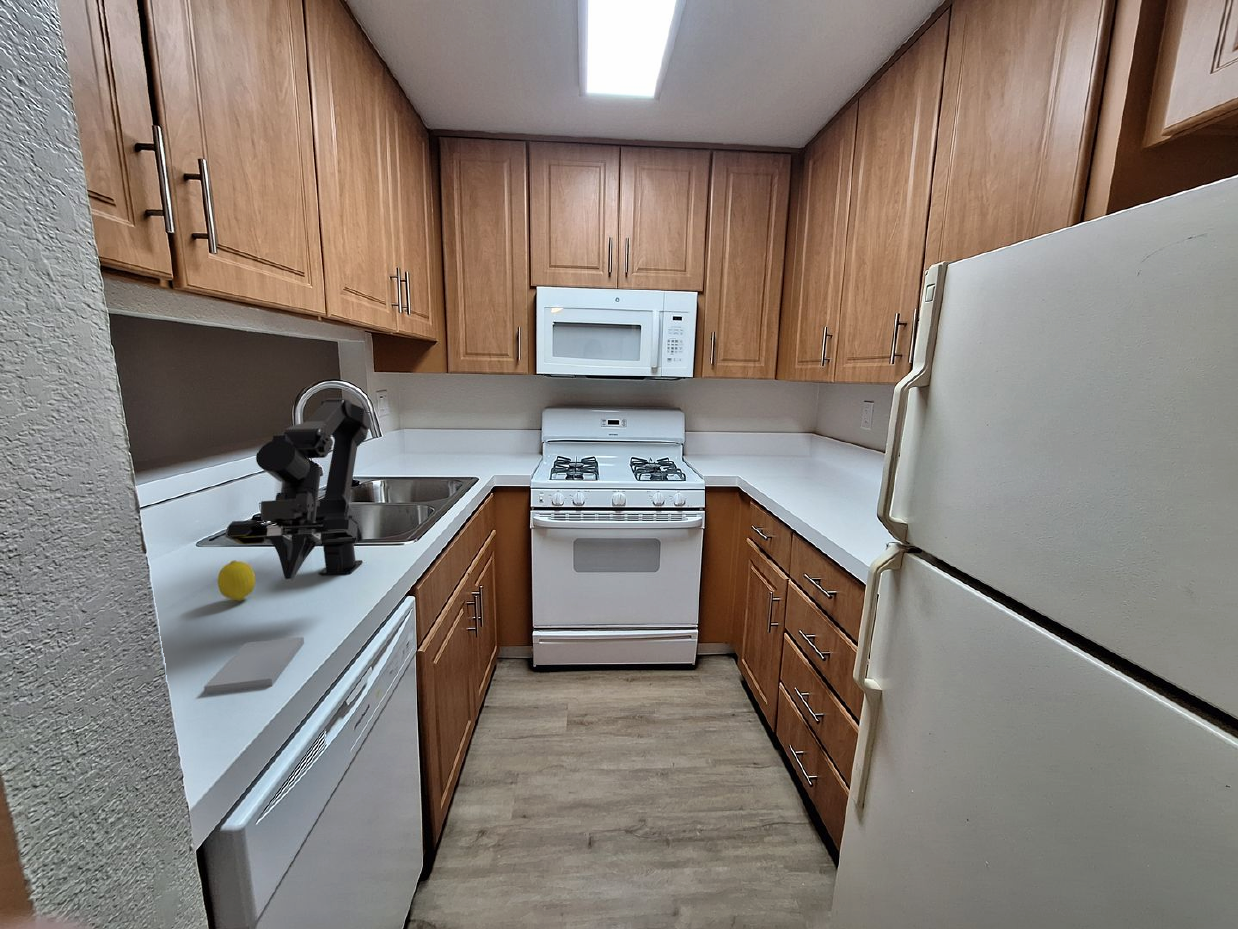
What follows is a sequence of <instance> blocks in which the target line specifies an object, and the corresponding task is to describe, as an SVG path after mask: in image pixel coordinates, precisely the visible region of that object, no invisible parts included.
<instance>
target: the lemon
mask: <svg viewBox="0 0 1238 929" xmlns="http://www.w3.org/2000/svg"><path fill="white" fill-rule="evenodd" d="M217 586H218V590H219V592H220V594H221V595H222V596H223V597H225V598H227V599H230V600H235V601H237V602H241V601H243V600H244V599H245V598H246V597H247V596H249V595H250V594H251V593H252V591H253V590H254V589H255V586H256V575H255V572H254V570H253V568H252V567H251V565H249V564H248V563H246V562H244V561H237V560H236V559H235V560H231V561H230V562H229V563H227V564H226V565H225V566H222V568H221V569H220V571H219V573H218V576H217Z"/></svg>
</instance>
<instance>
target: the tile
mask: <svg viewBox="0 0 1238 929" xmlns="http://www.w3.org/2000/svg"><path fill="white" fill-rule="evenodd" d="M304 639H305V638H304V636H299V637H289V638H279V639H270V640H262V641H261V640H259V641H252V642H251V641H250V642H245V644H244V645H242V647H241V648H239V650H238V651H237V652H236V653H235V654H234V655H233V656H232V657H231V658H230V659H229V660H228V661H227V662H226V663H225V664H224V665H223V666H222V667H221V668H220V670H218V671H217V672H216V674H215V675H214V676H212V678H210V680H209V681H208V682H207V683H206V684H205V685H204V686H203V689H204V693H210V694H216V693H215V692H219V693H225V692H226V691H227V692H233V691H239V690H241V691H242V690H250V689H257V688H258V687H259V688H266V687H273V686H274V684H275V683H276V681H278V679H279V678H280V676H281V675H282V674H283V672H284V671H285V670H286V668H287V667H288V666H289V664H290V663H291V662H292V661H293V659H294V658H295V656H297V654H298V652H299V651H300V650H301V648H303V645H305V640H304Z"/></svg>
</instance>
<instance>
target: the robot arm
mask: <svg viewBox="0 0 1238 929" xmlns="http://www.w3.org/2000/svg"><path fill="white" fill-rule="evenodd" d="M371 423H372V420H371V416H370V415H369V413H368V412H367V411H366V408H364V407H361V406H358V405H356V404H354V403H352V402H351V401H350V400H349V399H346V398H325V399H322V400H321V405H320V406H319V408H317V410H316V411H315V412H314V413H313V414H311V416H310V417H309V418H308V419H307V420H306V421H304V422H303V423H298V424H294V425H291V426H289V427H288V428H285V429H284V431H283V432H282V434H273V435H272V440H271V441H269V442H267V443H265V444H263V445H262V446H261V447H260V449H259V450H258V451H257V452H256V456H255V460H256V461H255V462H256V464H257V465H258V467H259V468H261V470H263V471H265V473H267V474H269V475H270V476H272V477H273V478H274V479H275V480H276V481H278V482H280V483H281V486H280V487H281V489H280V492H277V494H276V495H275V500H261V501H260V512H261V516H260V517H261V518H260V519H261V522H262V521H269V522H271V523H272V524H273V523H275V525H274V524H273V525H271V524H270V525H265V524H262V523H261V522H259V521H258V520H256V519H252V520H251V519H249V520H232V522H231V523H230V524H228V526H227V527H226V530H225V535H224V536H225V538H228V539H229V540H232V541H234V542H235V543H238V544H241V545H258V544H259V545H260V544H261V545H262V544H263V543H265V542H267V543H269V544H271V545H272V546H274V548H275V551H276V553H277V556H278V559H279V561H280V562H279V563H280V565H281V566H280V567H281V570H282V572H283V576H284V579H285V580H286V581H289V580H290V581H291V580H294V578H295V576H296V575H297V574H298V571H299V570H300V568H301V566H302V565H303V563H304V562H305V560H307V557H308V556H309V555H310V553H312V551H313V550H314V549H315V547H319V546H320V547H321V546H322V547H323V556H324V563H325V564H324V565H325V566H324V568H322V569H321V570H320V571H319V572H318V575H321V576H322V575H323V576H324V575H344V574H345V575H348V574H352V572H354V571H355V570H356V569H357V568H358V567H359V566H360V565H361V564H363V560H362V559H361V560H360V559H359V560H357V559H356V551H355V544H358V542H362V541H363V540H364V537H363V534H364V532H363V526H362V525H361V524H360V522H359V520H358V519H357V517H356V512H355V511H354V509H353V508H352V506H351V504H350V498H351V492H352V486H353V485H352V484H353V478H354V472H355V471H354V470H355V466H356V465H355V464H356V458H357V452H358V451H357V450H358V447H360V445H361V444H363V442H365V440H366V439H367V437H368V433H369V430H370V429H371V426H372V424H371ZM331 436H332V437H331ZM332 438H333V439H332ZM333 440H334V441H333ZM332 447H333V448H332ZM331 450H332V452H331ZM330 452H331V458H330V464H329V469H328V475H327V480H326V486H325V491H324V492H325V493H324V496H323V497H322V498H321V499H319V492H320V491H319V490H320V482H321V481H320V480H321V477H323V476H324V473H323V470H322V468H321V466H319V465H318V462H315V461H313V460H311V459H324V458H326V457H327V456H329V453H330Z"/></svg>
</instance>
